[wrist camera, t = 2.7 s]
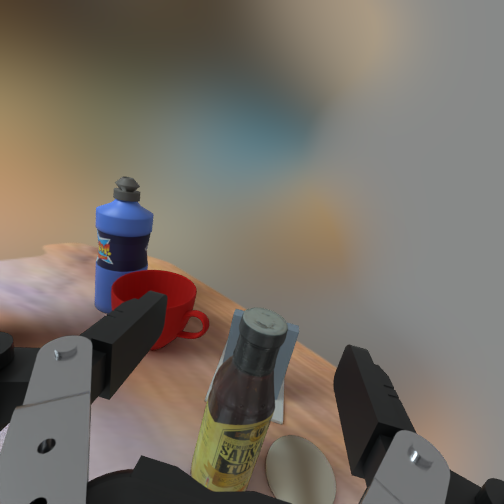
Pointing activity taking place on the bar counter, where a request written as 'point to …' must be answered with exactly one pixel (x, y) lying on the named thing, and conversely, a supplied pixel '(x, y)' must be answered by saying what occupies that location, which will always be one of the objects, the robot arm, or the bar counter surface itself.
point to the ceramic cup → (178, 301)
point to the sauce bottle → (240, 405)
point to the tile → (283, 352)
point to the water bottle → (120, 239)
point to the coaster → (299, 472)
